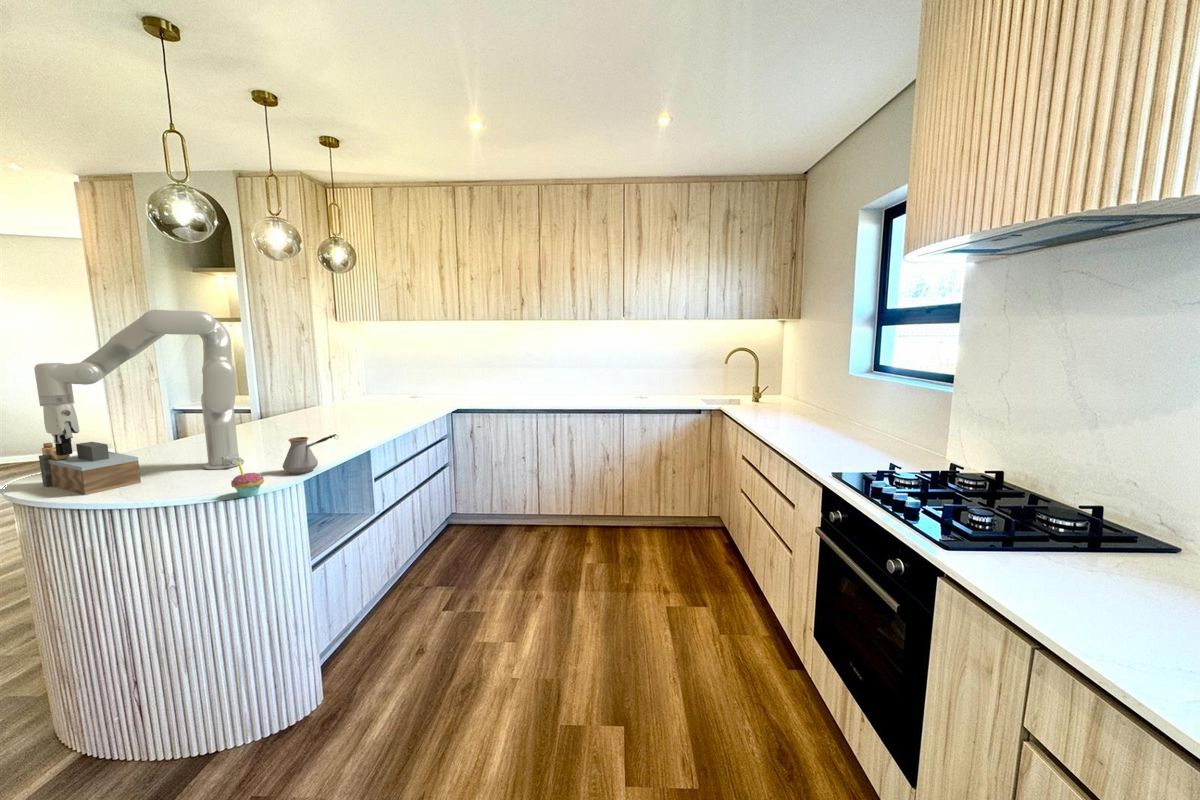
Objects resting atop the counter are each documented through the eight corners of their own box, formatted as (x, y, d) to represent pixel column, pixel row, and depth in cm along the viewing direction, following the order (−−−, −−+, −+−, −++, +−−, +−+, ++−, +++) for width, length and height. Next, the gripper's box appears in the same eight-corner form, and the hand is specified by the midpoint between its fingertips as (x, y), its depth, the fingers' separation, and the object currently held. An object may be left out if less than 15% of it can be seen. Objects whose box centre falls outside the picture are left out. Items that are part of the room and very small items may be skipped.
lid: (138, 463, 163) (136, 442, 162) (82, 473, 150) (79, 452, 149) (105, 456, 171) (102, 437, 170) (49, 466, 158) (46, 445, 157)
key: (67, 458, 159) (65, 445, 159) (57, 459, 157) (55, 446, 156) (53, 454, 163) (51, 442, 162) (42, 456, 161) (40, 443, 160)
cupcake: (239, 501, 147) (235, 463, 145) (227, 496, 151) (223, 459, 149) (269, 493, 154) (266, 457, 152) (258, 488, 158) (254, 454, 157)
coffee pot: (275, 475, 173) (272, 435, 171) (297, 466, 185) (294, 429, 183) (329, 477, 172) (326, 437, 170) (349, 468, 183) (346, 431, 181)
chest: (141, 482, 164) (137, 453, 162) (80, 496, 150) (76, 463, 148) (103, 474, 173) (99, 446, 172) (43, 486, 159) (38, 455, 158)
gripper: (84, 400, 155) (91, 454, 158) (61, 397, 161) (69, 449, 163) (51, 403, 148) (59, 459, 151) (29, 400, 154) (37, 454, 156)
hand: (64, 454), depth 157 cm, fingers closed
